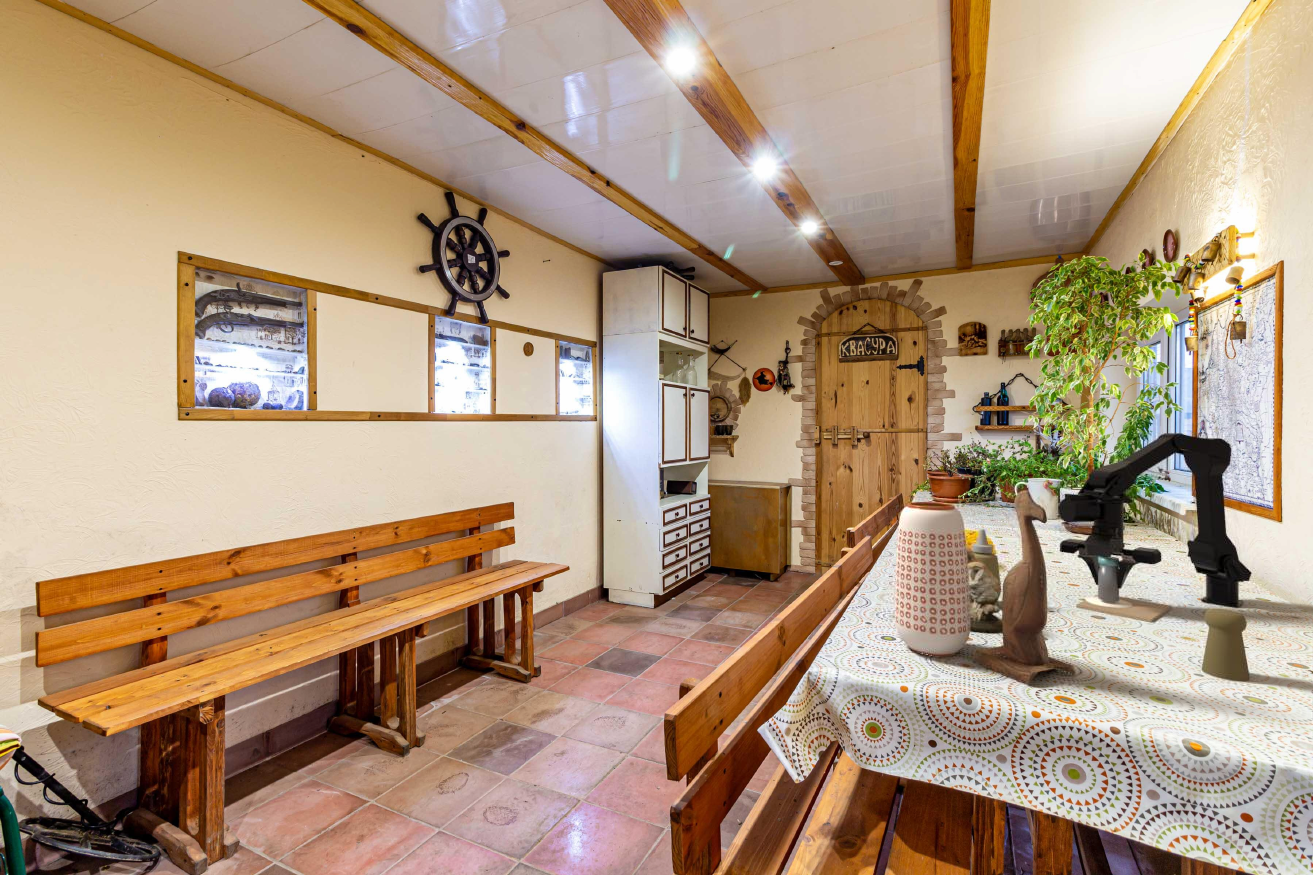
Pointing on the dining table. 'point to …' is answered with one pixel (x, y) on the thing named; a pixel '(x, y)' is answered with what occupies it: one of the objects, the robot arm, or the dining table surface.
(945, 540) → the patterned ceramic vase
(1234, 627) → the cork
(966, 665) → the dining table surface
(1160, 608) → the kraft pad
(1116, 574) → the marker
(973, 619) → the owl figurine
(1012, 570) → the bird sculpture
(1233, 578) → the robot arm
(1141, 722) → the dining table surface
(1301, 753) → the dining table surface
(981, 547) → the squeeze bottle
